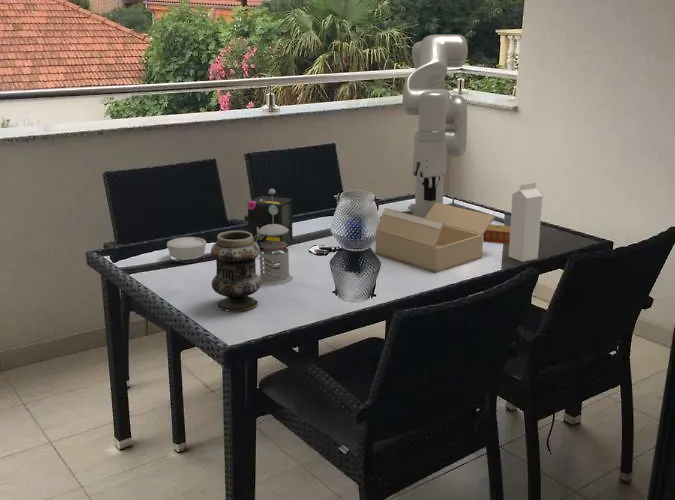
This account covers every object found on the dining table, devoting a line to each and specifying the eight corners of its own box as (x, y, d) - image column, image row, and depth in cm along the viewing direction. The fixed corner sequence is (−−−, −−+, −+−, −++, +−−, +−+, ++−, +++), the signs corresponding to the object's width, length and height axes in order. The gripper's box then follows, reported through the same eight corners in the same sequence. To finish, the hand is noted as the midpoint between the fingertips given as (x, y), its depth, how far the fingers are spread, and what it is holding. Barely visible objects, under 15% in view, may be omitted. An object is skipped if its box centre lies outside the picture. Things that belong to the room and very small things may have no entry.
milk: (537, 259, 220) (544, 184, 213) (522, 262, 217) (527, 187, 210) (523, 253, 225) (528, 180, 218) (507, 256, 222) (512, 182, 215)
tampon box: (248, 248, 232) (246, 201, 228) (262, 240, 241) (260, 195, 236) (280, 251, 228) (278, 204, 224) (293, 243, 237) (292, 197, 232)
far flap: (435, 202, 238) (436, 203, 238) (423, 219, 236) (424, 220, 236) (494, 215, 221) (495, 217, 222) (482, 233, 219) (483, 235, 220)
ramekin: (214, 258, 223) (213, 241, 221) (183, 267, 215) (182, 250, 213) (191, 251, 230) (190, 234, 229) (160, 259, 222) (159, 242, 221)
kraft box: (375, 253, 226) (375, 231, 224) (421, 240, 238) (421, 219, 236) (435, 272, 208) (436, 248, 206) (481, 257, 221) (483, 234, 219)
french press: (278, 287, 198) (275, 194, 191) (244, 280, 204) (239, 189, 197) (300, 276, 206) (298, 187, 199) (266, 270, 212) (262, 182, 205)
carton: (487, 235, 244) (488, 223, 243) (538, 240, 239) (539, 227, 238) (482, 242, 237) (483, 229, 236) (535, 247, 231) (536, 234, 230)
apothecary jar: (271, 306, 185) (268, 236, 180) (227, 317, 179) (223, 245, 173) (247, 292, 195) (244, 225, 189) (204, 302, 188) (200, 233, 183)
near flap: (444, 223, 207) (443, 222, 207) (435, 247, 207) (434, 246, 206) (385, 208, 224) (384, 207, 223) (377, 230, 223) (375, 229, 223)
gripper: (439, 132, 220) (437, 194, 225) (403, 137, 211) (402, 202, 216) (459, 135, 215) (456, 198, 220) (423, 140, 205) (421, 206, 210)
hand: (429, 200), depth 218 cm, fingers closed
